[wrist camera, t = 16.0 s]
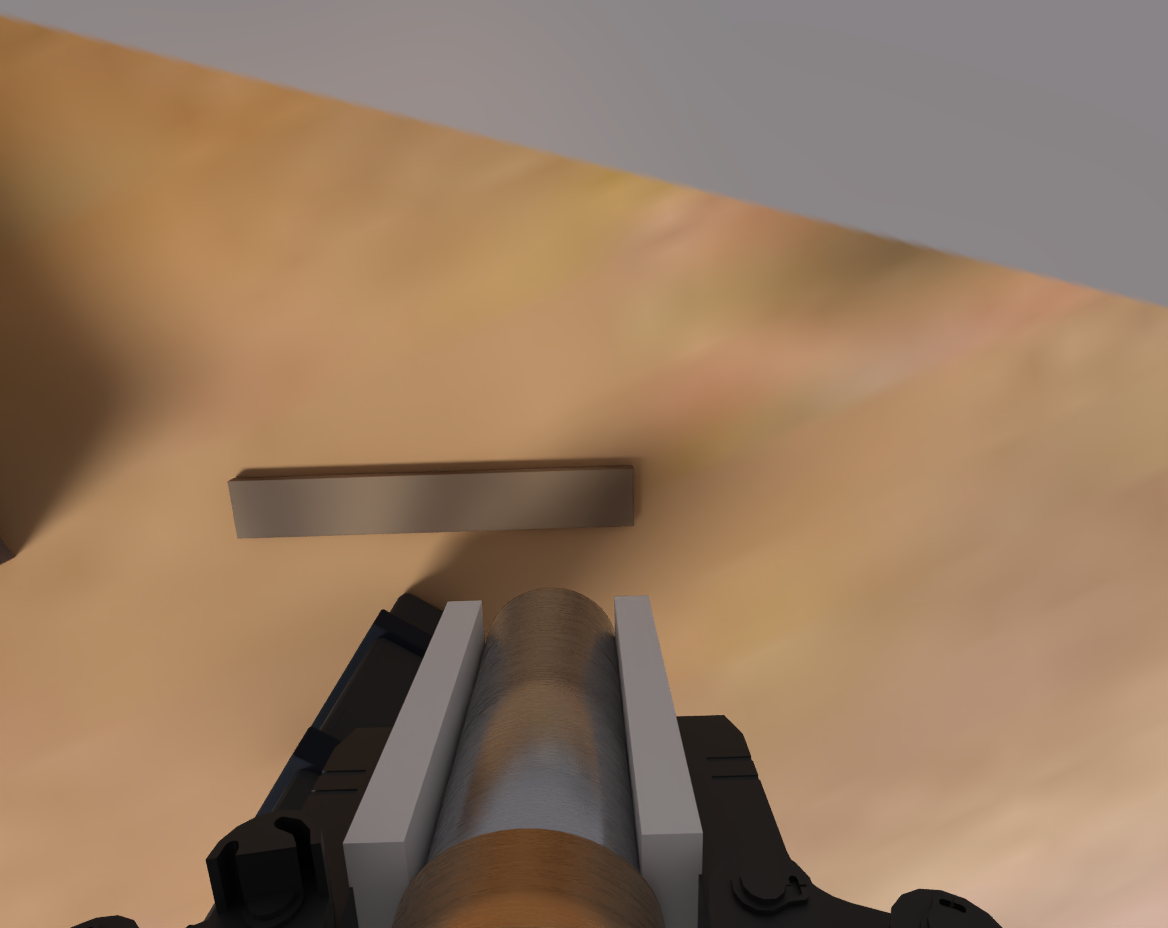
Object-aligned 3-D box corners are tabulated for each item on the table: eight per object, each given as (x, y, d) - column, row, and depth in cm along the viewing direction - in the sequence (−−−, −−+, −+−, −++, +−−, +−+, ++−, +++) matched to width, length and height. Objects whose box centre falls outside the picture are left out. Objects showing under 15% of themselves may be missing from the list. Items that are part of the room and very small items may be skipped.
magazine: (509, 584, 25) (290, 1101, 14) (403, 716, 33) (207, 1114, 21) (425, 536, 25) (121, 1033, 13) (338, 682, 33) (100, 1072, 21)
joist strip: (243, 534, 26) (237, 538, 26) (234, 477, 26) (227, 481, 25) (632, 521, 26) (633, 526, 26) (632, 465, 26) (633, 468, 25)
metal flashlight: (485, 715, 15) (323, 1441, 6) (470, 583, 14) (249, 1169, 5) (628, 707, 15) (716, 1422, 6) (622, 575, 14) (714, 1145, 5)
